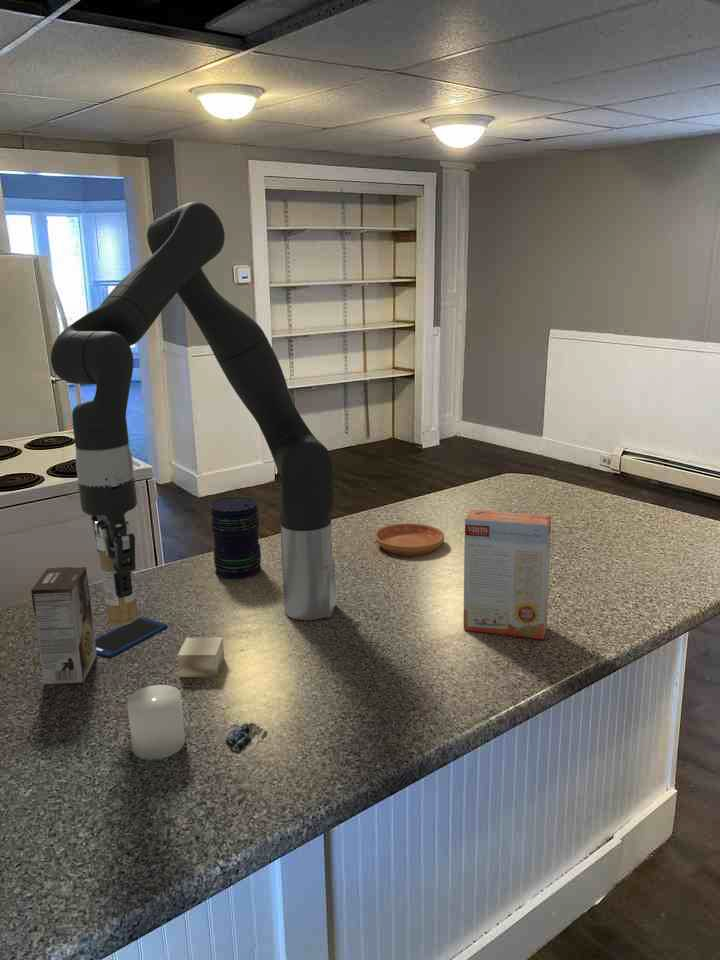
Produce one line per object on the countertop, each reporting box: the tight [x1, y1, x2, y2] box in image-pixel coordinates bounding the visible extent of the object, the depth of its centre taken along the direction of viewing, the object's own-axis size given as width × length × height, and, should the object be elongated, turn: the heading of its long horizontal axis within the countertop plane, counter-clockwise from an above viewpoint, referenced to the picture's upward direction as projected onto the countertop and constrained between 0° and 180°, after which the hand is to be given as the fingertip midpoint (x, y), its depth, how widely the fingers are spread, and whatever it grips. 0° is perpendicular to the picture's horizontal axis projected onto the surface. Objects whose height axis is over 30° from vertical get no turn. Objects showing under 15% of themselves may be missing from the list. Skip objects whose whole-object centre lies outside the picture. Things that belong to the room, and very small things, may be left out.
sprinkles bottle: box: [95, 535, 139, 627], centre depth 113 cm, size 5×5×14 cm
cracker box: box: [463, 509, 552, 640], centre depth 135 cm, size 14×6×21 cm, turn 71°
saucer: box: [374, 523, 445, 556], centre depth 180 cm, size 16×16×3 cm
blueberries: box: [220, 722, 268, 754], centre depth 107 cm, size 7×8×2 cm
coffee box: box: [30, 566, 98, 685], centre depth 125 cm, size 9×6×16 cm
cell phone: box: [95, 616, 168, 659], centre depth 138 cm, size 7×14×1 cm, turn 148°
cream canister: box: [126, 684, 186, 761], centre depth 106 cm, size 7×7×7 cm
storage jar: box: [210, 496, 262, 581], centre depth 165 cm, size 10×10×15 cm
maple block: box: [177, 636, 225, 678], centre depth 126 cm, size 6×6×4 cm
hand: (119, 589), depth 114 cm, fingers closed on sprinkles bottle, 4 cm apart
